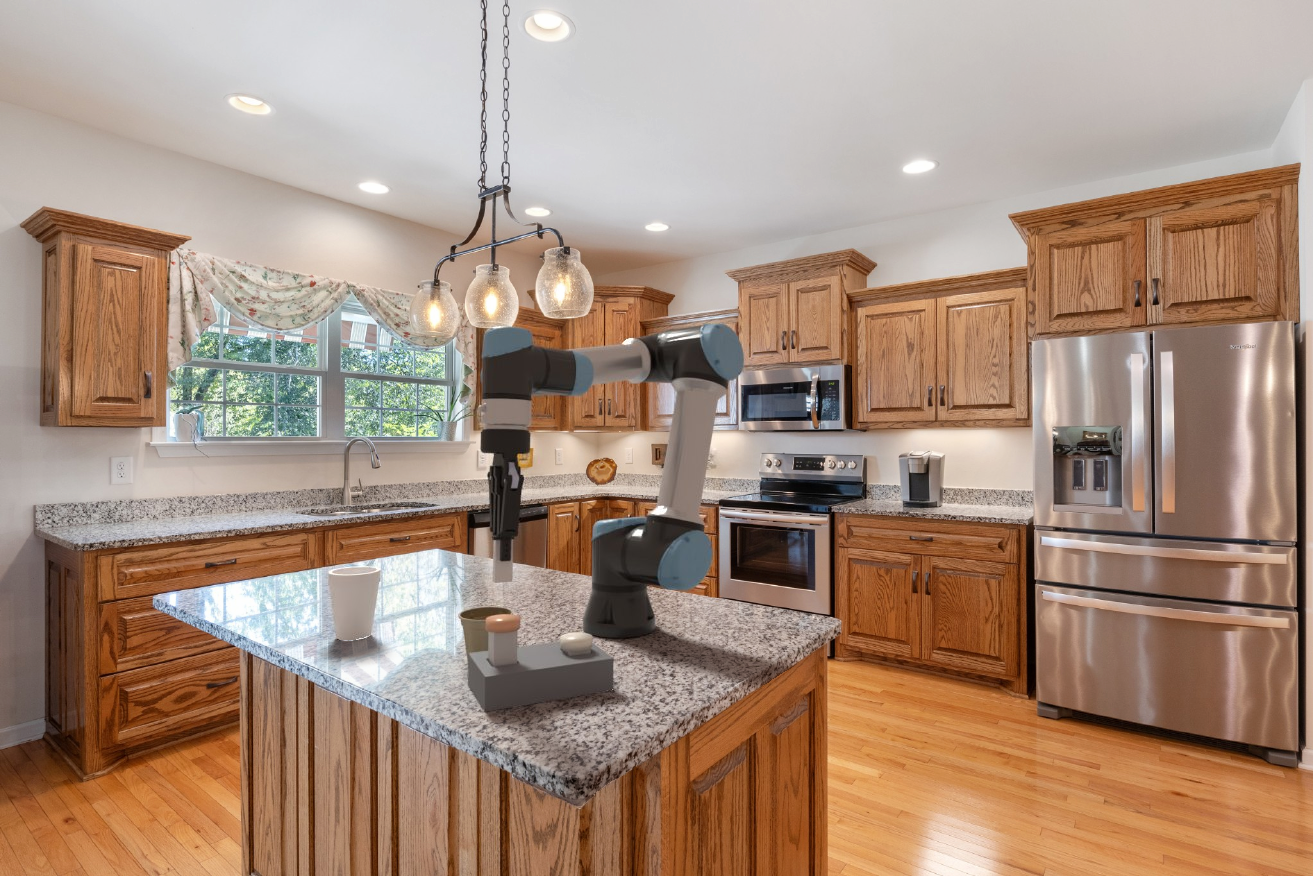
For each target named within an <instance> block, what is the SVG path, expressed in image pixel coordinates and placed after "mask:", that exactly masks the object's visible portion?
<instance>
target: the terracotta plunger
mask: <svg viewBox="0 0 1313 876" xmlns="http://www.w3.org/2000/svg"><path fill="white" fill-rule="evenodd" d="M520 629H521V617H520V616H519V615H518V614H513V615H511V614H501V615H494V616H490V617H487V618H486V631H488V632H489V636H488V662H489V663H490V665H491V666H492V667H494V666H502V665H509V664H516V663H517V647H518V639H519V637H518V633H519V632H518V630H520Z"/></svg>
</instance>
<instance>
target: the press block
mask: <svg viewBox="0 0 1313 876" xmlns="http://www.w3.org/2000/svg"><path fill="white" fill-rule="evenodd" d="M614 664H615V663H614V657H612V656H611V655H610V654H608V653H607V652H606V651H604V650H603V649H602V648H600V647H599V646H597V644H595V643H594V642H592V647H591V653H588V654H581V655H574V656H567V655H566V654H565V653H564V652H563V651H562V649H561V648H560V641H554V642H552V641H551V642H546V643H537V644H530V645H528V644H527V645H522V646H521V645H520V646H517V663H516V664H509V665H502V666H494V667H492V666H491V665H490V663H489V662H488V651H481V652H473V653H468V662H467V686H468V687H469V689H470V691H471V692H472V694H473V695H474V697H475V699H476V700H477V702H478V703H479V705H480V707H481V708H482V710H483V712H485V713H486V712H491V711H492V712H493V711H497V710H503V709H510V708H515V707H516V708H517V707H521V706H528V705H533V704H539V703H546V702H551V701H558V700H564V699H568V698H575V697H580V696H581V695H582V696H586V695H587V694H588V695H593V693H594V694H598V693H597V692H600V693H604V691H606V692H608V691H607V690H612V689H613V690H614ZM613 690H612V691H613Z"/></svg>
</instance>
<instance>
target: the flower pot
mask: <svg viewBox="0 0 1313 876" xmlns="http://www.w3.org/2000/svg"><path fill="white" fill-rule="evenodd" d="M501 614H511V615H514V610H512V609H511V608H508V607H506V606H505V607H504V606H478V607H472V608H469V609H465V610H462V611H460V612H459V613H458V614H457V615H458V616H457V617H458V618H459V619H460V624H461V626H462V630H463V637H464V645H465V646H464V647H465V652H466V661H467V663H468V653H473V652H481V651H488V636H489V632H488V631H486V618H487V617H490V616H494V615H501Z"/></svg>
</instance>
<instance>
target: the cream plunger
mask: <svg viewBox="0 0 1313 876" xmlns="http://www.w3.org/2000/svg"><path fill="white" fill-rule="evenodd" d="M593 636H594V635H592V634H589V633H587V632H581V631H580V632H578V631H577V632H568V633H565V634H562V635H560V636H559V638H560V639H559V640H560V641H559V642H560V648H561V649H562V651H563V652H564V653H565V654H566V655H567V656H574V655H581V654H588V653H591V647H592V643H593Z"/></svg>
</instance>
